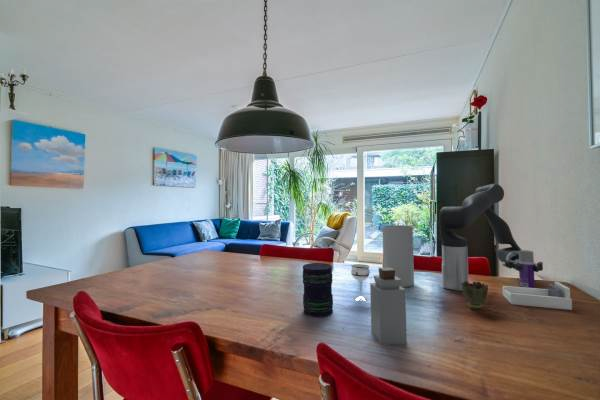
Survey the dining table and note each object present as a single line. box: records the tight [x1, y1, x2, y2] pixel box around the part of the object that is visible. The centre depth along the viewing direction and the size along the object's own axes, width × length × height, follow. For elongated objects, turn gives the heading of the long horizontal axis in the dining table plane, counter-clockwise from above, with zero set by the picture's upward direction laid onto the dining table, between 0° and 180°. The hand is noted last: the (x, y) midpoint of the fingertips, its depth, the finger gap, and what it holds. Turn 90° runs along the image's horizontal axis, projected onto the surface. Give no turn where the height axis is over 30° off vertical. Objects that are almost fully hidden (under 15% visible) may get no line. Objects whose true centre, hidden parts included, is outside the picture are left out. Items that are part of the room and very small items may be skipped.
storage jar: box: [302, 262, 334, 318], centre depth 92 cm, size 10×10×15 cm
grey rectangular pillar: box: [381, 224, 415, 288], centre depth 123 cm, size 12×12×25 cm
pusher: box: [547, 283, 562, 297], centre depth 95 cm, size 1×7×5 cm, turn 158°
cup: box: [462, 281, 489, 310], centre depth 93 cm, size 8×7×8 cm
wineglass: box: [350, 263, 371, 302], centre depth 104 cm, size 7×7×12 cm
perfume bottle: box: [369, 267, 408, 346], centre depth 73 cm, size 7×7×18 cm
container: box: [518, 249, 536, 288], centre depth 112 cm, size 5×5×15 cm
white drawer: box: [502, 281, 573, 311], centre depth 97 cm, size 16×10×6 cm, turn 68°
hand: (528, 268), depth 109 cm, fingers closed on container, 4 cm apart
